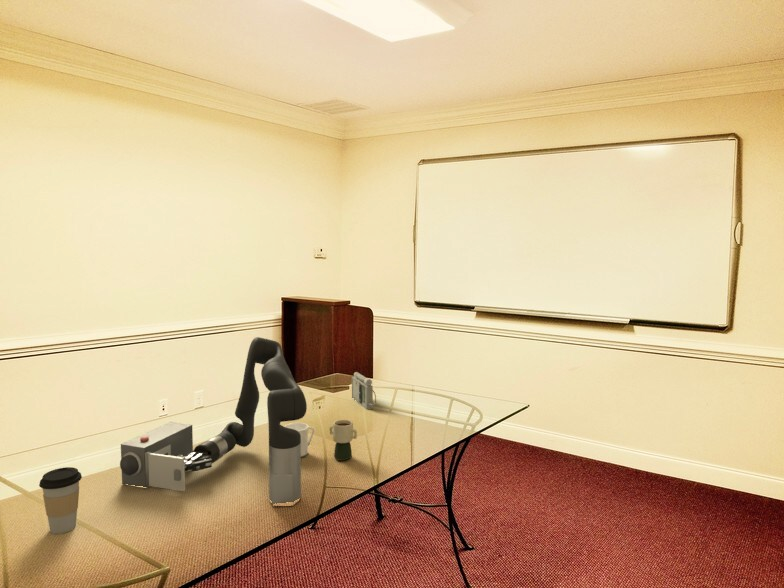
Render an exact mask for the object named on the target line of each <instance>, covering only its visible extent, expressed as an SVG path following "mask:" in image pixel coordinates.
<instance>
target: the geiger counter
mask: <svg viewBox="0 0 784 588" xmlns="http://www.w3.org/2000/svg"><path fill="white" fill-rule="evenodd" d="M372 384H373V381H372V380H371V379H370V378H368V377H366V376H364V375H362V374H361V373H359V372H358V371H355V372H354V373H353V376H351V399H352V398H354V399H355V400H356V401H357V402H358V404H359V405H360V406H361V407H363V409H365V410H372V409H373V406H375V405H376V403H377V395H376V392H375V390H374V389H373V385H372ZM373 394H374V400H373ZM355 400H354V401H355ZM356 401H355V402H356ZM373 401H374V403H373ZM357 402H356V403H357Z"/></svg>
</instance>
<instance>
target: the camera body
mask: <svg viewBox="0 0 784 588" xmlns="http://www.w3.org/2000/svg"><path fill="white" fill-rule="evenodd" d="M193 433H194V432H193V424H189V423H181V422H175V421H170V422H167V423H165V424H163V425H160V426H158V427H156V428H154V429H151V430H149V431H147V432H144V433H142V434H140V435H138V436H136V437H133V438H132V439H129V440H127V441H125V442H122V443H121V444H120V458H121V459H120V462H119V467H120V469H121V484H128V485H135V486H143V487H146V476H145V452H151V453H155V454H162V455H170V456H177V455H179V454H181V455H182V456H186V455H187V454H189V453H192V452H193V450H194V442H193V440H194V439H193V438H194V437H193ZM128 485H127V486H128Z"/></svg>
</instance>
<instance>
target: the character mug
mask: <svg viewBox="0 0 784 588" xmlns="http://www.w3.org/2000/svg"><path fill="white" fill-rule="evenodd" d="M329 435H332V439H333V442H334V443H335V445H334V446H335V447H334V452H333V453H334V455H333V457H334V459H336V460H339V461H344V460H349V459H350V458H352V457H353V455H352V454H353V452H352V445H351V442H352V441H353V439H354V440H357V438H358V431H357V429H354V422H353V421H352V420H349V419H338V420H337V419H336V420H335V421H333V425H330V426H329Z"/></svg>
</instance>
